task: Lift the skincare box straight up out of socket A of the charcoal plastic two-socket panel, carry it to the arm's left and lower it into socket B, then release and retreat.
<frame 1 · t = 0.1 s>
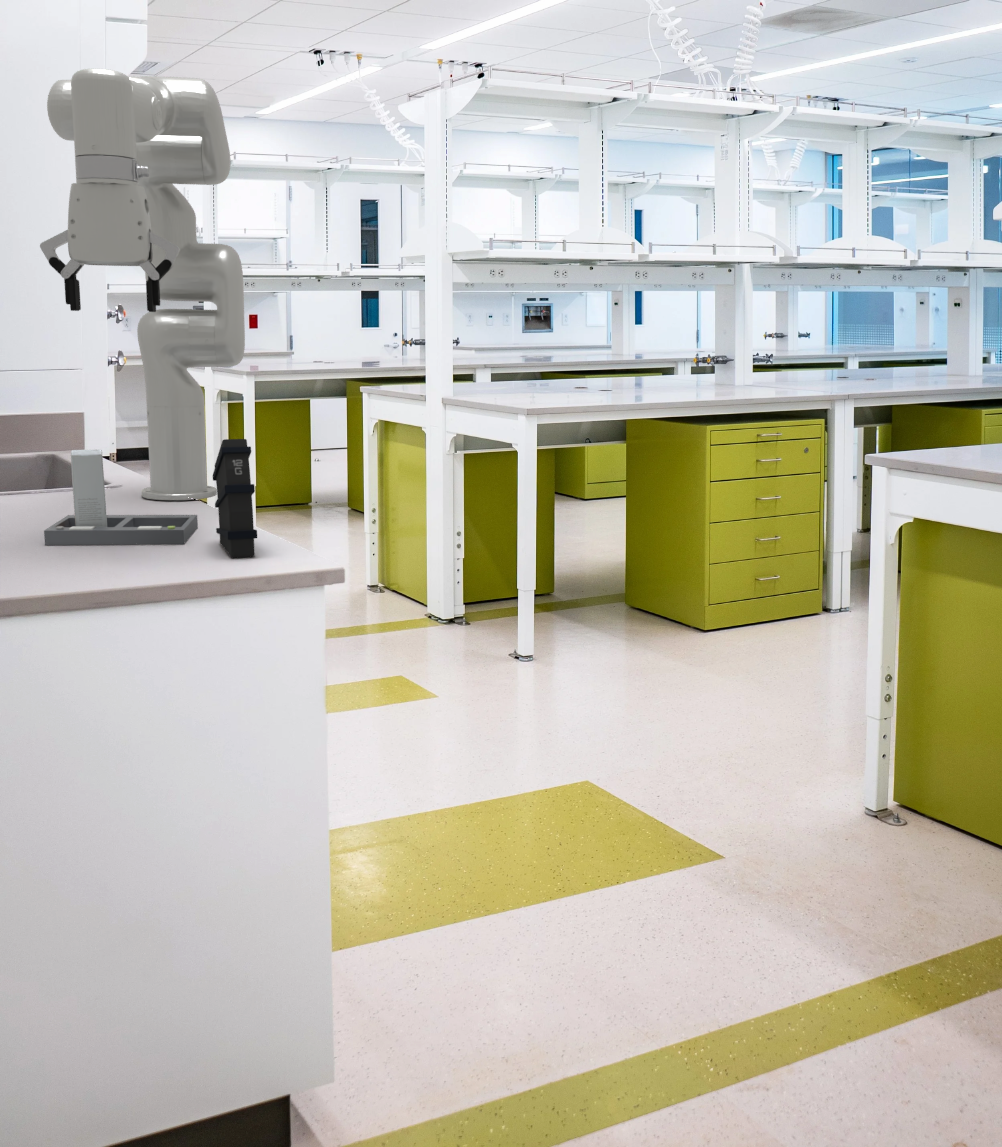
hand: (113, 311, 156), 31 cm above the table, fingers open, 9 cm apart
skincare box: (91, 538, 167), resting in socket panel
socket panel: (124, 536, 168), on the table
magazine: (235, 550, 160), on the table
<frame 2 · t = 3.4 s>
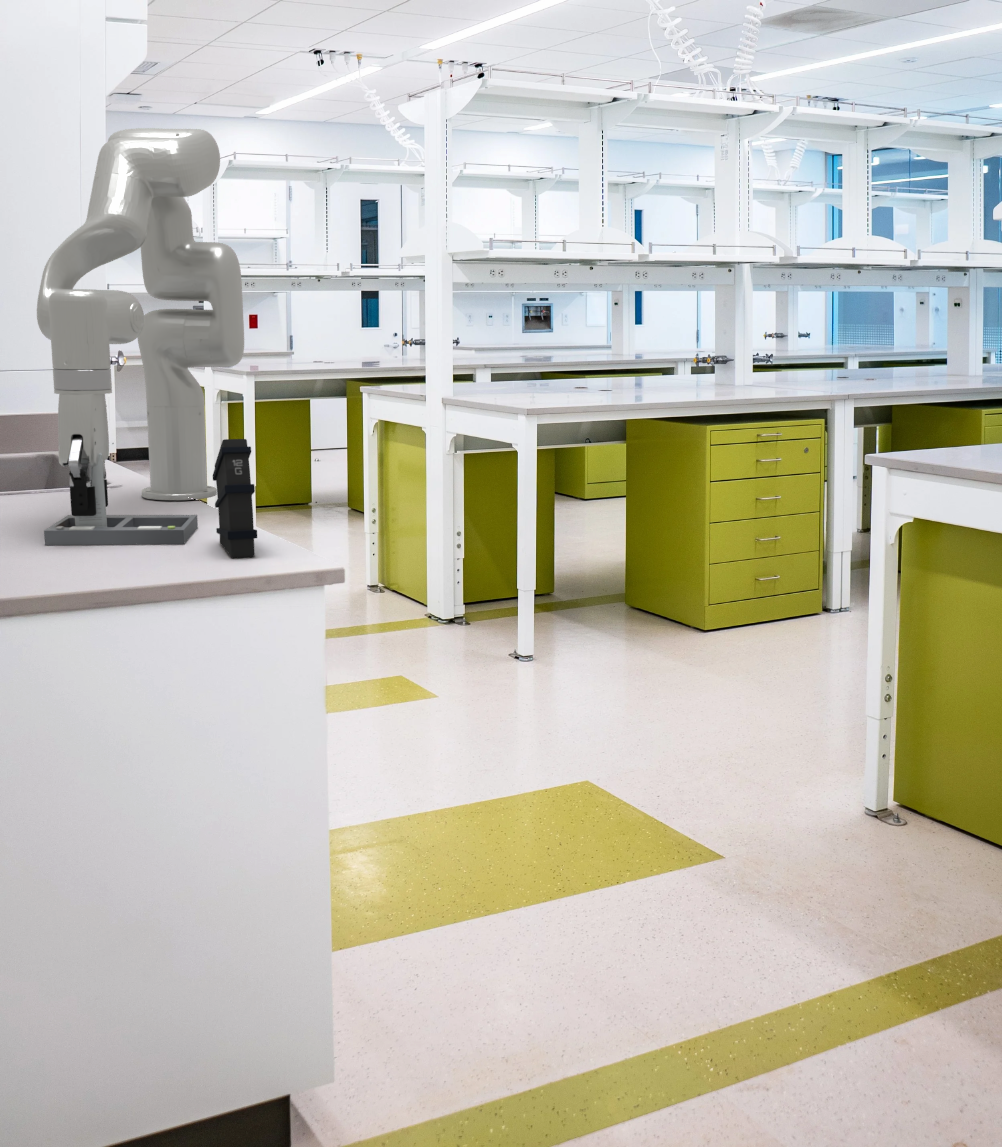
hand: (90, 510, 167), 4 cm above the table, fingers closed on skincare box, 6 cm apart
skincare box: (91, 537, 167), resting in socket panel, touching gripper
everything else where it was.
when the fingers open (5 cm above the table, at t = 9.3 s): skincare box stays where it is, resting in socket panel.
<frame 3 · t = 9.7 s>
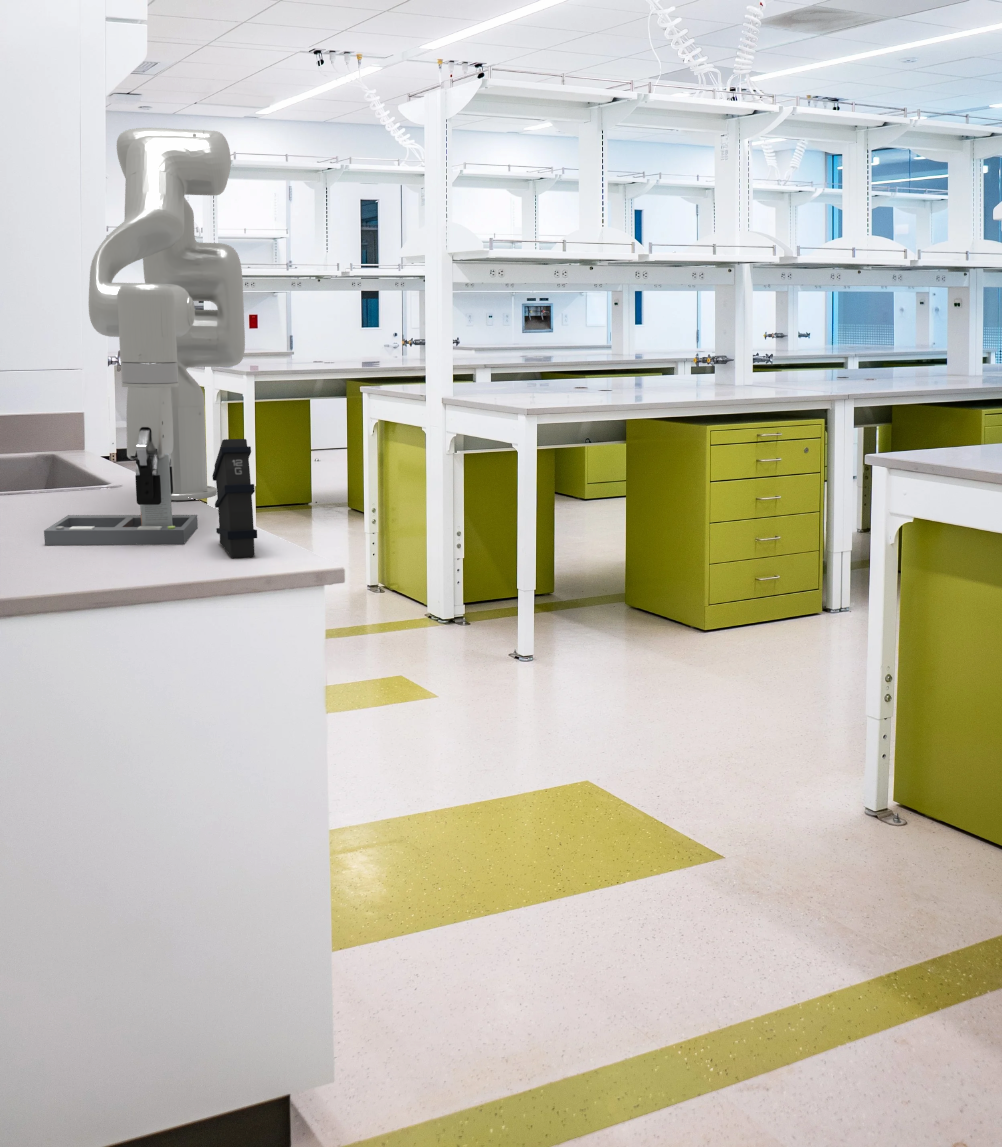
hand: (155, 499, 167), 5 cm above the table, fingers open, 9 cm apart
skincare box: (157, 537, 168), resting in socket panel
everything else where it was.
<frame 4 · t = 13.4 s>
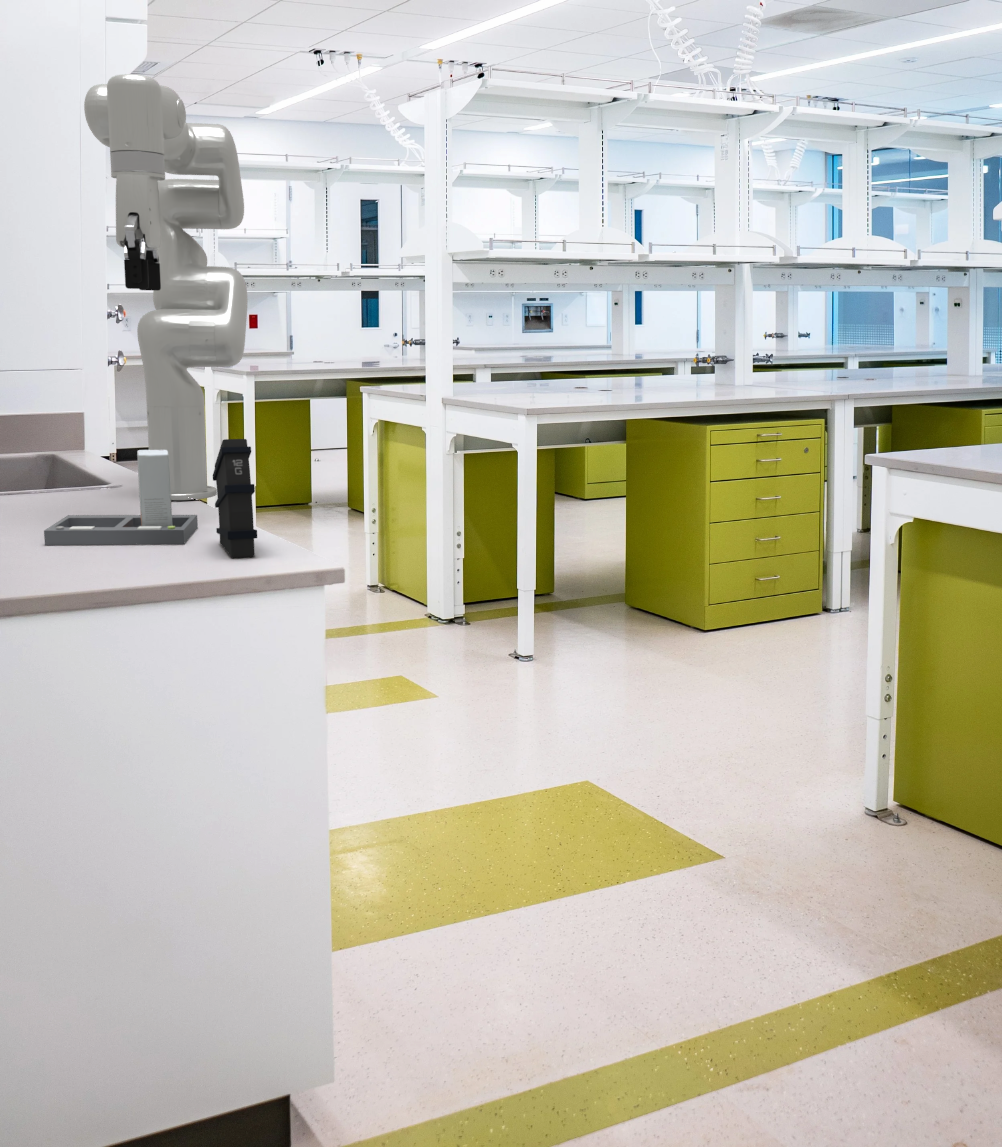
hand: (143, 289, 175), 34 cm above the table, fingers open, 9 cm apart
nothing on the table moved.
at the end: skincare box 0.0 cm from the target spot on the socket panel, point 0.0 cm above the socket panel's base; skincare box touching table; skincare box tilted 0° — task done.
